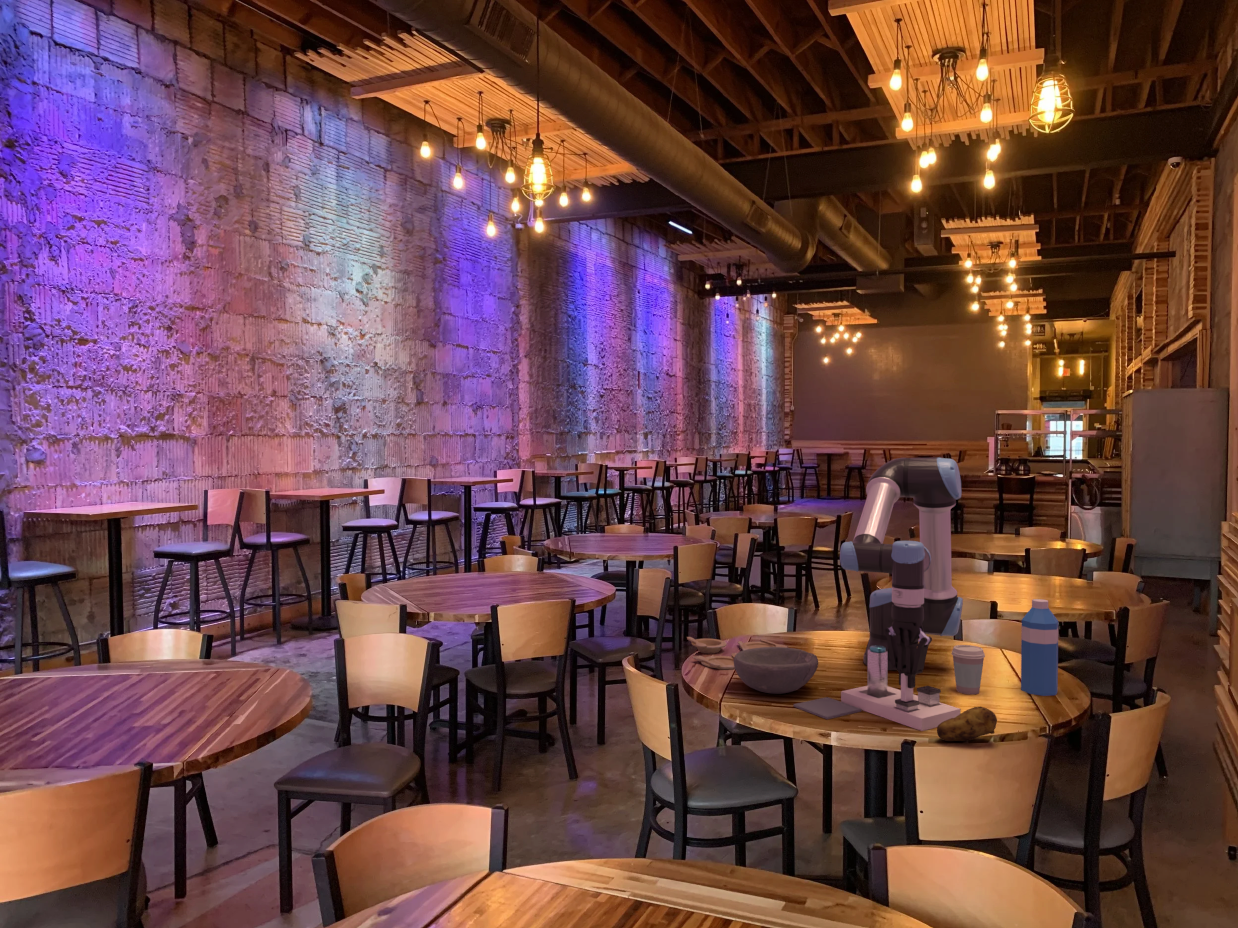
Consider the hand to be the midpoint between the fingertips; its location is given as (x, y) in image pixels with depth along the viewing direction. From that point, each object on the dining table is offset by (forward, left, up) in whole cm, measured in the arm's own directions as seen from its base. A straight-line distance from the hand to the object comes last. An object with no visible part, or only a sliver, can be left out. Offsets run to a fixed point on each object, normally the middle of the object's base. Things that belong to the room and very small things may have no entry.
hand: (906, 699), depth 212 cm
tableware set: (-71, +6, -6) cm, 72 cm away
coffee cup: (-8, +34, -5) cm, 35 cm away
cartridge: (-13, +4, -5) cm, 15 cm away
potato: (+17, 0, -5) cm, 18 cm away
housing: (-6, +4, -5) cm, 9 cm away
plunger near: (0, 0, -4) cm, 4 cm away
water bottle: (+2, +51, -5) cm, 51 cm away
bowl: (-37, -10, -5) cm, 39 cm away
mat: (-17, -10, -5) cm, 20 cm away
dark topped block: (0, +8, -2) cm, 8 cm away
